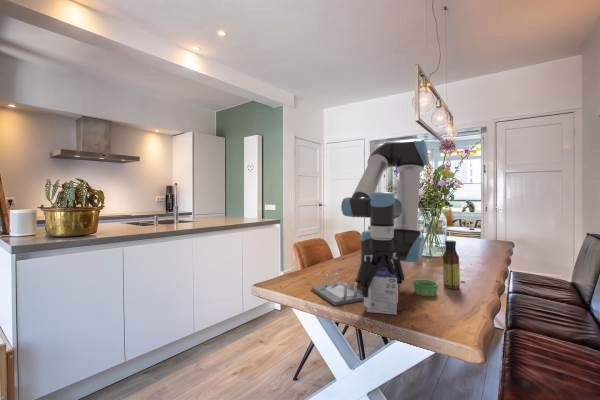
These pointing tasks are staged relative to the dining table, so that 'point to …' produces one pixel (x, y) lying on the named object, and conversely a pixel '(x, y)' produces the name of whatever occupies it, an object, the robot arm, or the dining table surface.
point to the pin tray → (339, 292)
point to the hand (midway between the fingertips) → (381, 304)
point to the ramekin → (425, 287)
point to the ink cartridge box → (383, 293)
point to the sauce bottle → (451, 266)
